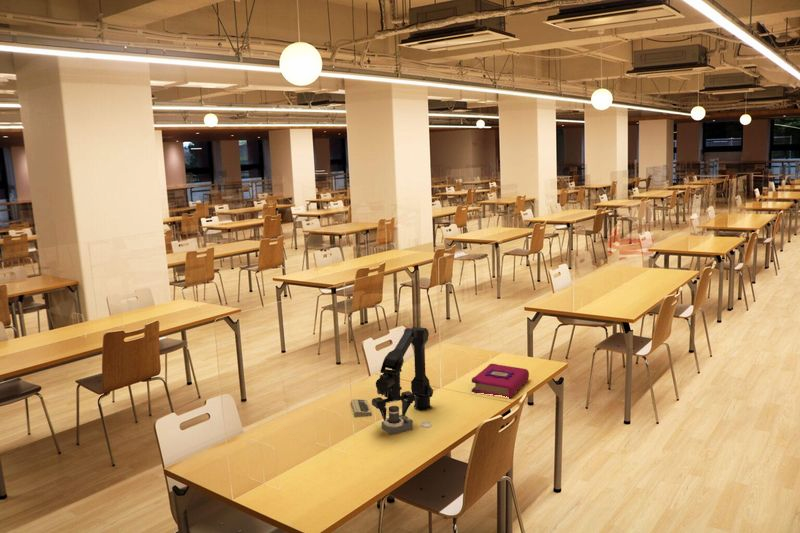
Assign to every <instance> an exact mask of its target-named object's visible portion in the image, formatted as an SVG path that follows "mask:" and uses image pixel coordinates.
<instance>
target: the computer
mask: <svg viewBox="0 0 800 533" xmlns="http://www.w3.org/2000/svg"><path fill="white" fill-rule="evenodd" d="M350 405H352V406H351V410H352V409H353V410H352V413H353V412H354V413H353V417H354V418H362V417H372V416H373V413H372V411H371V408H370V405H369V403H368V400H367V399H361V398H360V399H357V398H355V399H354V398H353V399H351V400H350Z"/></svg>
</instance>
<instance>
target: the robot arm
mask: <svg viewBox="0 0 800 533" xmlns="http://www.w3.org/2000/svg"><path fill="white" fill-rule="evenodd" d="M429 335H430V334H429V330H428V328H426V327H422V326H421V327H419V326H412V327H411V328H410V327H406V328H405V329H404V330H403V334H402V336H401V337H400V339H399V341H397V342H398V343H397V344H396V345H395V347H394V349H393V350H391V351H389V352H388V353H387V354H386V356H385V357H384V359H383V362H382V365H381V368H380V373H381V374H380V375H379V378H377V380H376V382H375V387H376V393H377V395H381V396H382V397H383V396H384V397H385V398H382V397H380V396H378V397H374V398H372V399H371V405H372V406H374V408H376V409H377V410H379V412H380V415H381V418H382V419H383V421H386V418H387V404H389V403H394V402H399V401H401V415H402V416H403V417H404V416H406V413H407V411H408V409H409V408H410V406H411V404H412V403H413V402H414V405H413V407H414V408H415V409H417V410H418V411H420V412H421V411H426V410H430V409H433V407H432V406H431V398H432V397H433V395H434V389H433V388H432V387H431V385H430V383H431V382H430V380H429V378H428V376H427V375H426V350H425V349H426V347H425V346H426V344H427V342H428V341H429ZM411 344H412V346H413V353H414V354H413V357H414V360H413V361H414V377H413V379H412V380H411V381H410V384H411V385H410V390H411V391H410V390H406V391H403V392H401V390H403V389H402V388H403V387H402V386H401V372H403V369H402V367H403V365H404V360H405V359H404V356H405V355H406V353H407V351H408V349H409V348H410V346H411Z"/></svg>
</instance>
